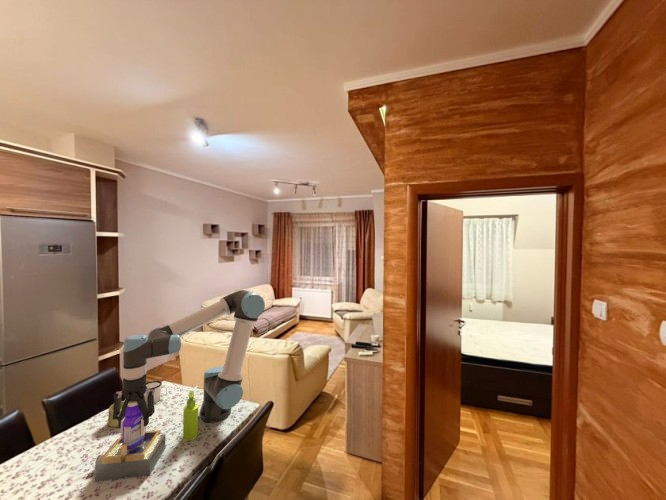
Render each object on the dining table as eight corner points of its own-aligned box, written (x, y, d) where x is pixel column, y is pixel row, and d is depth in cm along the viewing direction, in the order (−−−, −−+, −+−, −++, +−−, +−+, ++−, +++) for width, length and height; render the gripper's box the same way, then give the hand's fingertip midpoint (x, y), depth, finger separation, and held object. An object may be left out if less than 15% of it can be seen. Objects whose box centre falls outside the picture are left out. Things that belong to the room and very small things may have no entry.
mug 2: (139, 407, 146) (139, 390, 146) (142, 398, 155) (143, 382, 155) (165, 402, 151) (165, 386, 151) (167, 394, 160) (168, 378, 160)
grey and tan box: (165, 447, 117) (166, 419, 117) (149, 476, 102) (150, 443, 102) (109, 453, 113) (110, 424, 113) (84, 483, 98) (85, 450, 98)
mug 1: (97, 422, 130) (108, 400, 132) (120, 417, 139) (129, 397, 141) (111, 435, 125) (122, 412, 127) (134, 429, 134) (143, 408, 136)
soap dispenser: (182, 443, 119) (183, 397, 120) (182, 434, 126) (183, 390, 126) (198, 439, 122) (199, 394, 122) (197, 430, 128) (198, 387, 128)
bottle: (130, 452, 104) (132, 406, 104) (118, 450, 105) (119, 404, 105) (147, 439, 111) (148, 396, 111) (135, 437, 112) (136, 394, 112)
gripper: (165, 370, 114) (164, 426, 113) (112, 373, 110) (111, 431, 110) (157, 378, 106) (156, 438, 106) (100, 382, 103) (99, 444, 102)
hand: (133, 434), depth 108 cm, fingers closed on bottle, 6 cm apart
